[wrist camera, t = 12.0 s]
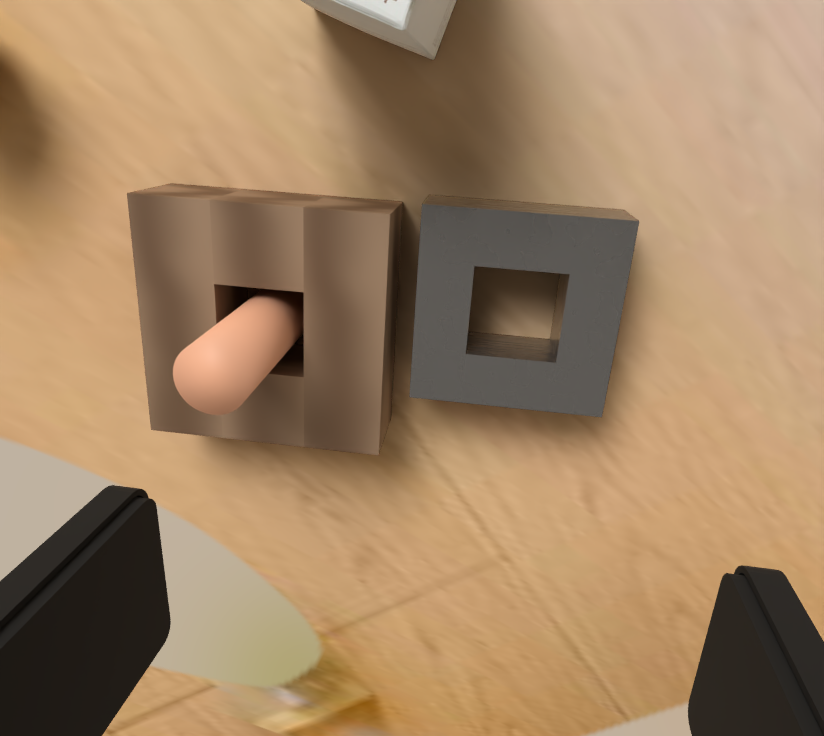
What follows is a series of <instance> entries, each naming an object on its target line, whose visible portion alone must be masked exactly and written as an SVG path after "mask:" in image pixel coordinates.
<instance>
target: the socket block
mask: <svg viewBox="0 0 824 736" xmlns="http://www.w3.org/2000/svg"><path fill="white" fill-rule="evenodd" d="M127 198H128V208H129V218H130V228H131V238H132V247H133V257H134V267H135V277H136V286H137V296H138V306H139V316H140V326H141V335H142V345H143V355H144V365H145V375H146V384H147V394H148V404H149V414H150V423H151V430H157V431H166V432H175V433H184V434H193V435H202V436H210V437H219V438H228V439H237V440H246V441H255V442H264V443H273V444H282V445H290V446H299V447H308V448H317V449H326V450H335V451H344V452H353V453H362V454H370V455H379V453H380V450H381V447H382V444H383V441H384V438H385V435H386V432H387V429H388V426H389V423H390V420H391V409H392V391H393V372H394V354H395V335H396V317H397V298H398V280H399V261H400V243H401V224H402V206H403V202H400V201H388V200H375V199H362V198H349V197H337V196H324V195H311V194H298V193H286V192H273V191H260V190H247V189H235V188H222V187H209V186H196V185H184V184H166V185H162V186H157V187H153V188H148V189H144V190H139V191H135V192H130V193H127ZM247 287H251V288H262V289H273V290H284V291H295V292H304V346H302V345H293V346H292V347H291V348H290V349H289V350H288V351H287V353H286V354H285V355H284V356H283V357H282V358H281V360H280V361H279V362H278V363H277V364H276V365H275V367H274V368H273V369H272V370H271V371H270V372H269V374H268V375H267V376H266V377H265V378H264V379H263V380H262V382H261V383H260V384H259V385H258V386H257V387H256V389H255V390H254V391H253V392H252V393H251V394H250V396H249V397H248V398H247V399H246V400H245V401H244V403H243V404H242V405H241V406H240V407H239V408H237V409H236V410H235V411H233V412H230V413H228V414H223V415H211V414H206V413H203V412H201V411H198V410H197V409H195V408H193V407H192V406H190V405H189V404H188V403H187V402H186V401H185V400H184V399H183V398H182V397H181V395H180V394H179V392H178V390H177V388H176V386H175V383H174V379H173V366H174V363H175V360H176V358H177V356H178V355H179V353H180V352H181V351H182V350H184V349H185V348H186V347H187V346H189V345H190V344H191V343H193V342H194V341H195V340H196V339H198V338H199V337H200V336H202V335H203V334H204V333H206V332H207V331H208V330H210V329H211V328H212V327H213V326H215V325H216V324H217V323H219V322H220V321H221V320H223V319H224V318H225V317H227V316H228V315H229V314H231V313H232V312H233V311H234V310H236V309H237V308H238V307H240V306H241V305H242V304H244V303H245V302H246V301H248V293H247Z"/></svg>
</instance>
